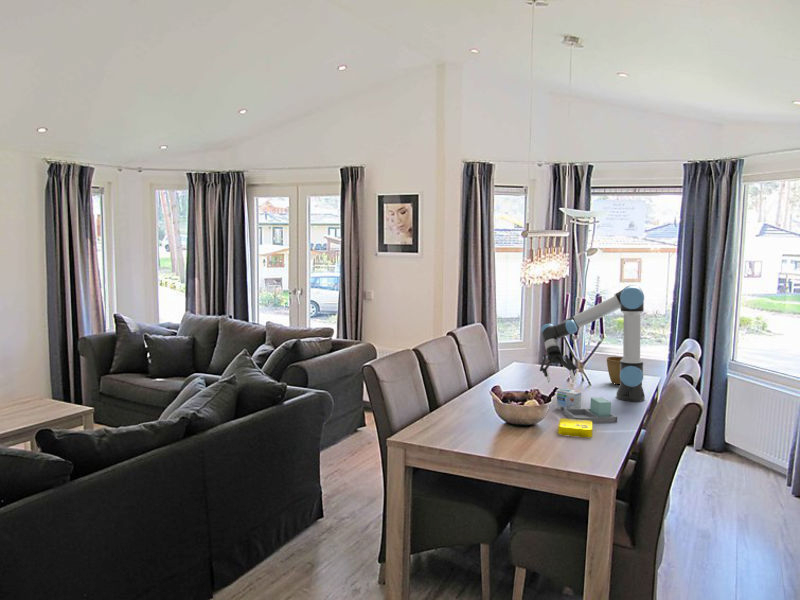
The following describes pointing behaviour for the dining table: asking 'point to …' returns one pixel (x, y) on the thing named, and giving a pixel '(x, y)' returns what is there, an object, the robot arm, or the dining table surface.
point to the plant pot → (614, 369)
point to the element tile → (575, 427)
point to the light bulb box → (568, 399)
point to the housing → (587, 416)
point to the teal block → (600, 407)
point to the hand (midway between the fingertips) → (561, 381)
